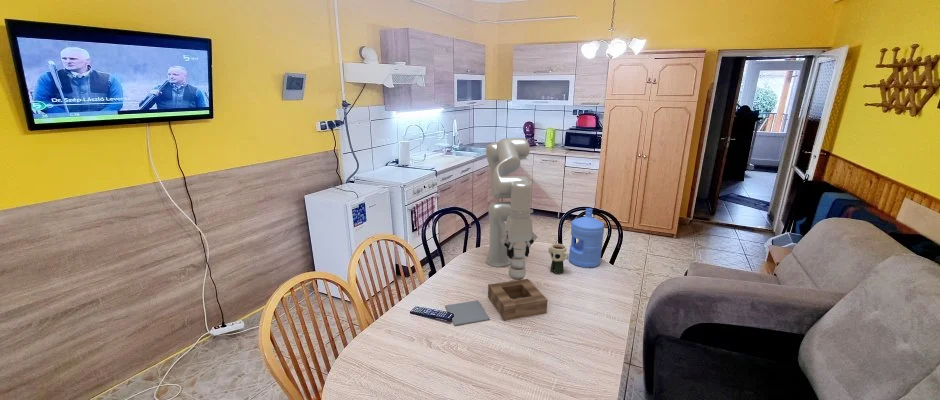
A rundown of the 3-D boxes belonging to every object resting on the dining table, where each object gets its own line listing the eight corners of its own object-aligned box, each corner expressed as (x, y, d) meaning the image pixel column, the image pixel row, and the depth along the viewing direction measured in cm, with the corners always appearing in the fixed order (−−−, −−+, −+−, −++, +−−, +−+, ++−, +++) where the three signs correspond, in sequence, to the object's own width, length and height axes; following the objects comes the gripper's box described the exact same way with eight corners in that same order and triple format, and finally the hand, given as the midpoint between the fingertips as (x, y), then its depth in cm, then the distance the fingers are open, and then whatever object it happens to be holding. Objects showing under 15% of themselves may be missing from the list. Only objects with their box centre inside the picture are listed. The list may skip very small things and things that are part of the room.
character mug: (543, 270, 193) (544, 245, 189) (551, 265, 198) (553, 241, 194) (562, 277, 185) (564, 252, 182) (570, 273, 190) (573, 247, 186)
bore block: (487, 297, 168) (488, 284, 166) (526, 291, 173) (527, 278, 172) (504, 320, 152) (504, 306, 150) (546, 313, 157) (547, 299, 155)
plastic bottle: (524, 282, 156) (527, 235, 150) (507, 280, 158) (509, 233, 152) (525, 275, 162) (528, 229, 156) (509, 273, 164) (511, 227, 158)
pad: (445, 306, 161) (445, 305, 160) (478, 301, 165) (478, 300, 164) (454, 326, 148) (454, 324, 148) (489, 319, 152) (490, 318, 152)
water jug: (596, 255, 209) (602, 204, 201) (603, 269, 194) (609, 214, 186) (566, 254, 211) (570, 203, 203) (570, 267, 196) (575, 213, 188)
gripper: (536, 208, 158) (533, 250, 163) (495, 212, 153) (493, 255, 158) (545, 214, 151) (542, 257, 156) (502, 218, 146) (501, 263, 151)
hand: (517, 256), depth 157 cm, fingers closed on plastic bottle, 6 cm apart
